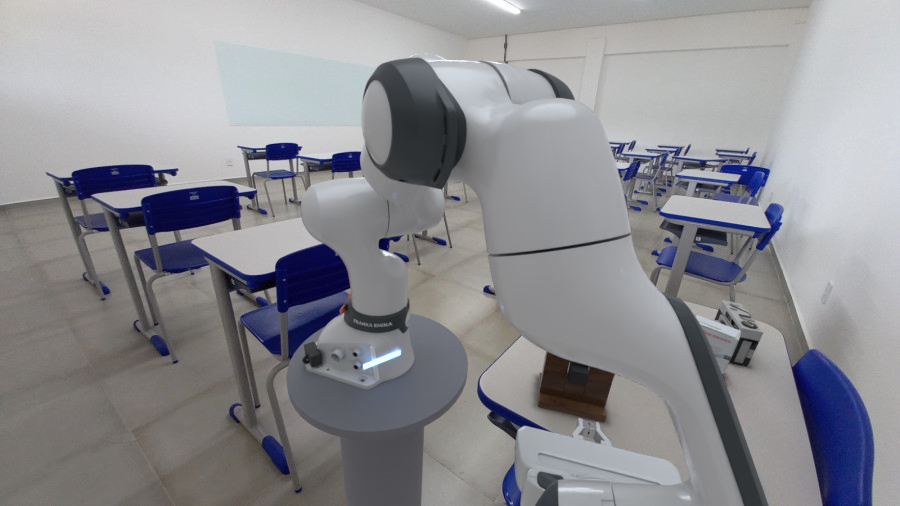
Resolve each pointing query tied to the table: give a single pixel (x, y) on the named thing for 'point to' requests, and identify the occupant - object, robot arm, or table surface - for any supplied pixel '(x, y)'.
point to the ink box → (720, 340)
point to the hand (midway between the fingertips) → (587, 423)
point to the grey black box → (742, 321)
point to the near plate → (573, 389)
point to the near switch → (578, 374)
